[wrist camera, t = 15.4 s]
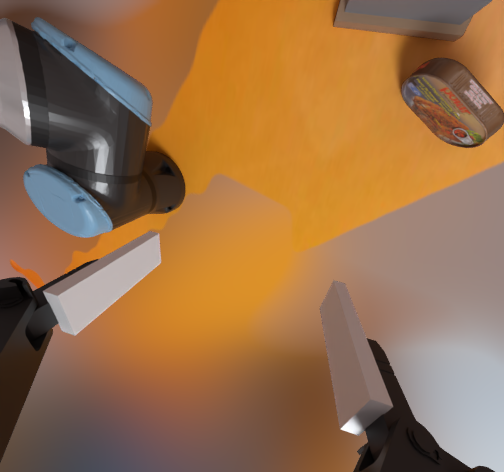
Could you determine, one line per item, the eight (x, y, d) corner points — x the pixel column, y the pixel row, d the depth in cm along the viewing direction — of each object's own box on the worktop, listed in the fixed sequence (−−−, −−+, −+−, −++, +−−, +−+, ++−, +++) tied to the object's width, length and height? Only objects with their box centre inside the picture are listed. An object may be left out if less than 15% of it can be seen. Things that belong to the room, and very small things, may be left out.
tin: (392, 89, 31) (423, 69, 23) (410, 69, 29) (451, 41, 22) (448, 149, 32) (494, 149, 25) (468, 134, 31) (523, 128, 24)
